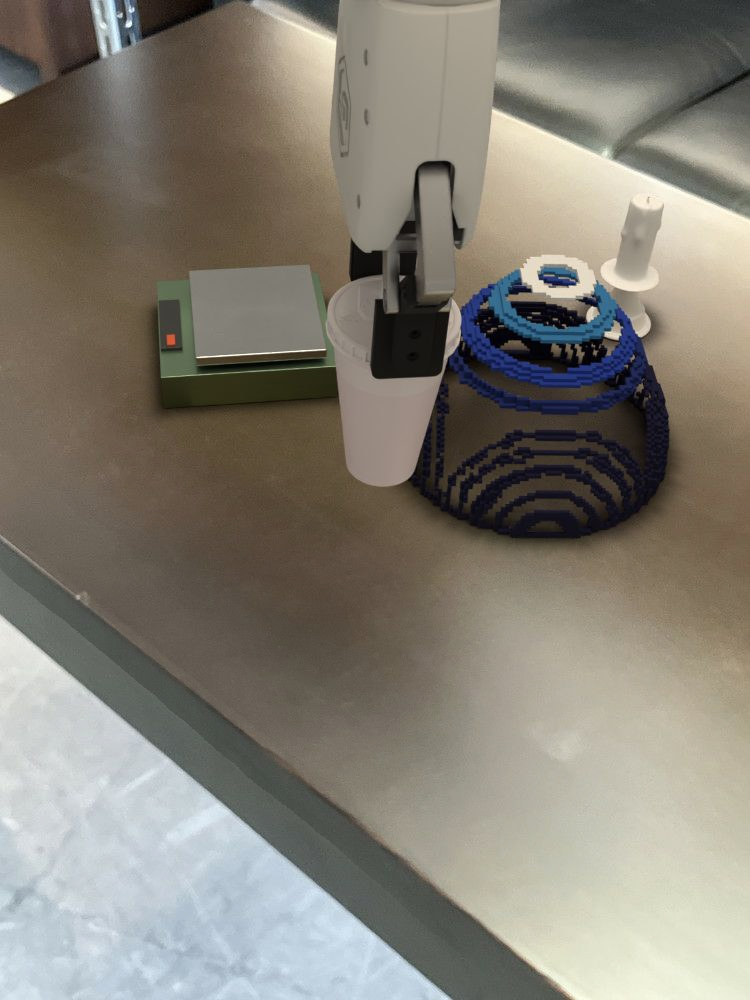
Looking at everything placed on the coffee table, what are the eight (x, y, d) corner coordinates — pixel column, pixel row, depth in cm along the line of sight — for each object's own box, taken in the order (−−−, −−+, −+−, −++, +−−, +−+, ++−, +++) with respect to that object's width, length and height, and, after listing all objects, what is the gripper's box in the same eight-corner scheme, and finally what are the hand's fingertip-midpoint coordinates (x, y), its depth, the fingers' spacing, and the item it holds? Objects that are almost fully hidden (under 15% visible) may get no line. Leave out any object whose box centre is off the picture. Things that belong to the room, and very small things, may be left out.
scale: (164, 408, 85) (160, 372, 83) (159, 311, 94) (156, 276, 91) (337, 396, 87) (338, 361, 85) (318, 302, 95) (318, 267, 93)
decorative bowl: (636, 354, 93) (678, 196, 82) (691, 538, 79) (750, 375, 68) (388, 350, 91) (399, 189, 81) (400, 536, 78) (415, 370, 67)
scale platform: (196, 366, 84) (195, 357, 83) (189, 278, 91) (188, 270, 91) (326, 358, 85) (327, 349, 84) (309, 272, 93) (309, 264, 92)
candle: (649, 346, 93) (684, 217, 85) (583, 336, 94) (612, 207, 85) (651, 308, 97) (685, 181, 88) (588, 298, 98) (616, 171, 89)
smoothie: (382, 405, 64) (402, 178, 53) (466, 466, 60) (505, 238, 50) (294, 456, 60) (298, 225, 50) (379, 524, 57) (402, 293, 47)
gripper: (300, -157, 47) (295, 226, 59) (358, 27, 35) (336, 456, 48) (480, -154, 48) (437, 222, 60) (596, 26, 36) (512, 446, 49)
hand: (393, 322), depth 54 cm, fingers closed on smoothie, 6 cm apart
